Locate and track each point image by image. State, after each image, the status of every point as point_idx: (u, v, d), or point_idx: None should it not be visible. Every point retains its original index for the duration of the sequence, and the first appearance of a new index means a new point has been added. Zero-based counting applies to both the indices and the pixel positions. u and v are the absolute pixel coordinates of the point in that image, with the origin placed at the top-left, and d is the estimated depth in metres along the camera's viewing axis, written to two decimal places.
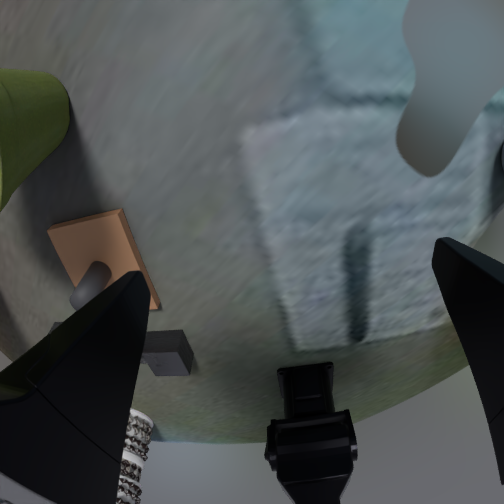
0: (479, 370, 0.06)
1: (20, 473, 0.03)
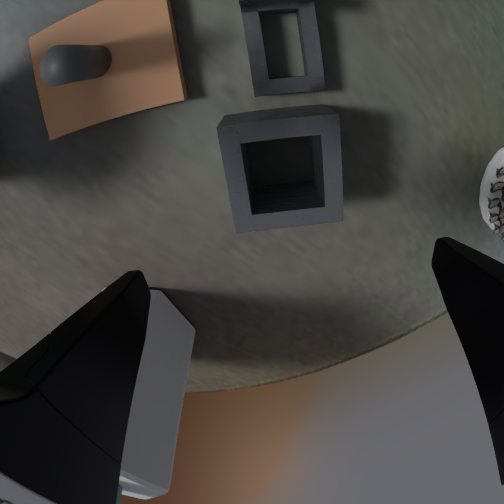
0: (479, 370, 0.06)
1: (20, 473, 0.03)
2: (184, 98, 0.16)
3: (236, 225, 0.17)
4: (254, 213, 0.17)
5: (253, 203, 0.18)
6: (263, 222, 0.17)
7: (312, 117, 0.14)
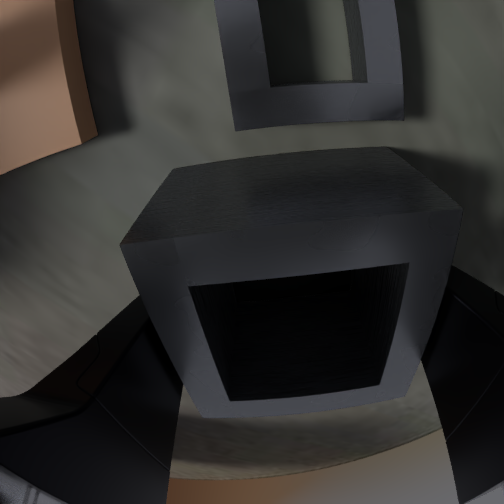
0: (435, 383, 0.06)
1: (76, 495, 0.03)
2: (82, 139, 0.07)
3: (201, 410, 0.08)
4: (235, 395, 0.08)
5: (235, 358, 0.09)
6: (253, 409, 0.08)
7: (399, 218, 0.05)
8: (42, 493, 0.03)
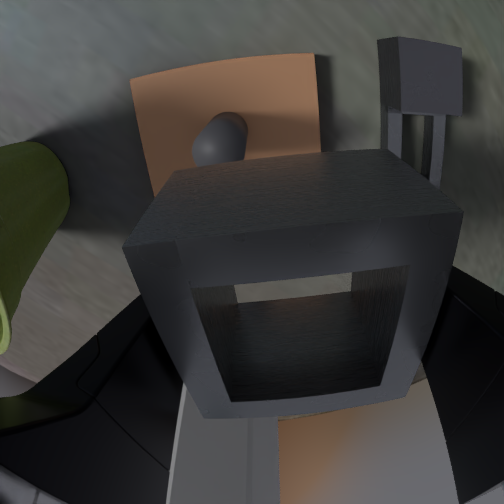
0: (435, 383, 0.06)
1: (76, 495, 0.03)
2: None
3: (202, 411, 0.08)
4: (236, 396, 0.08)
5: (236, 359, 0.09)
6: (254, 409, 0.08)
7: (399, 220, 0.05)
8: (41, 493, 0.03)
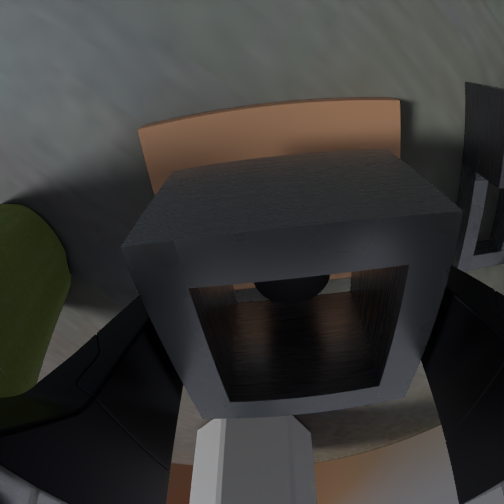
0: (435, 383, 0.06)
1: (76, 495, 0.03)
2: None
3: (201, 411, 0.08)
4: (235, 396, 0.08)
5: (235, 359, 0.09)
6: (253, 409, 0.08)
7: (398, 219, 0.05)
8: (41, 493, 0.03)
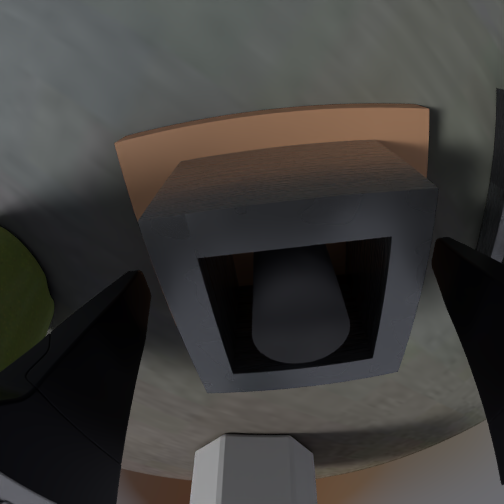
0: (479, 370, 0.06)
1: (20, 473, 0.03)
2: None
3: (206, 384, 0.09)
4: (238, 369, 0.09)
5: (237, 336, 0.10)
6: (255, 382, 0.09)
7: (380, 195, 0.06)
8: None
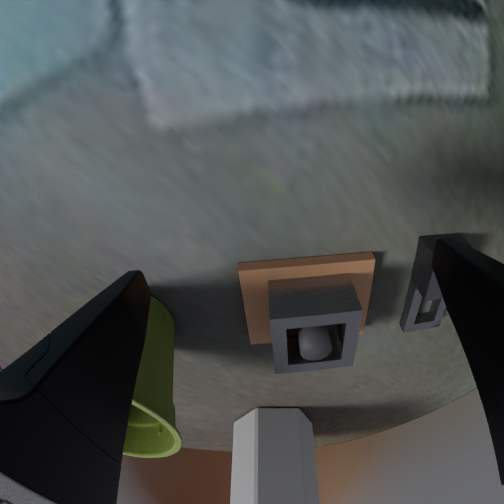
0: (479, 370, 0.06)
1: (20, 473, 0.03)
2: (362, 331, 0.26)
3: (276, 370, 0.23)
4: (289, 363, 0.22)
5: (287, 349, 0.24)
6: (295, 368, 0.23)
7: (342, 313, 0.19)
8: None
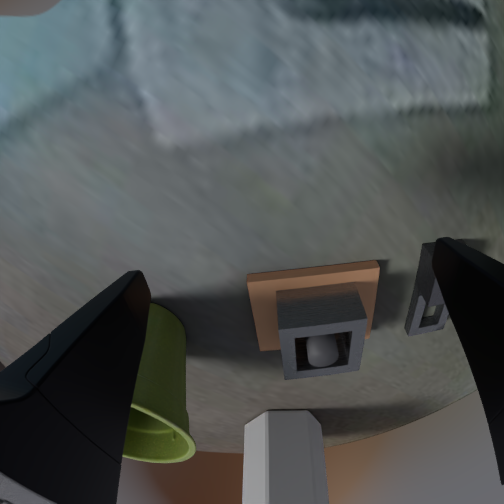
0: (479, 370, 0.06)
1: (20, 473, 0.03)
2: (368, 336, 0.27)
3: (285, 376, 0.23)
4: (298, 369, 0.23)
5: (296, 356, 0.24)
6: (304, 374, 0.23)
7: (348, 322, 0.20)
8: None
